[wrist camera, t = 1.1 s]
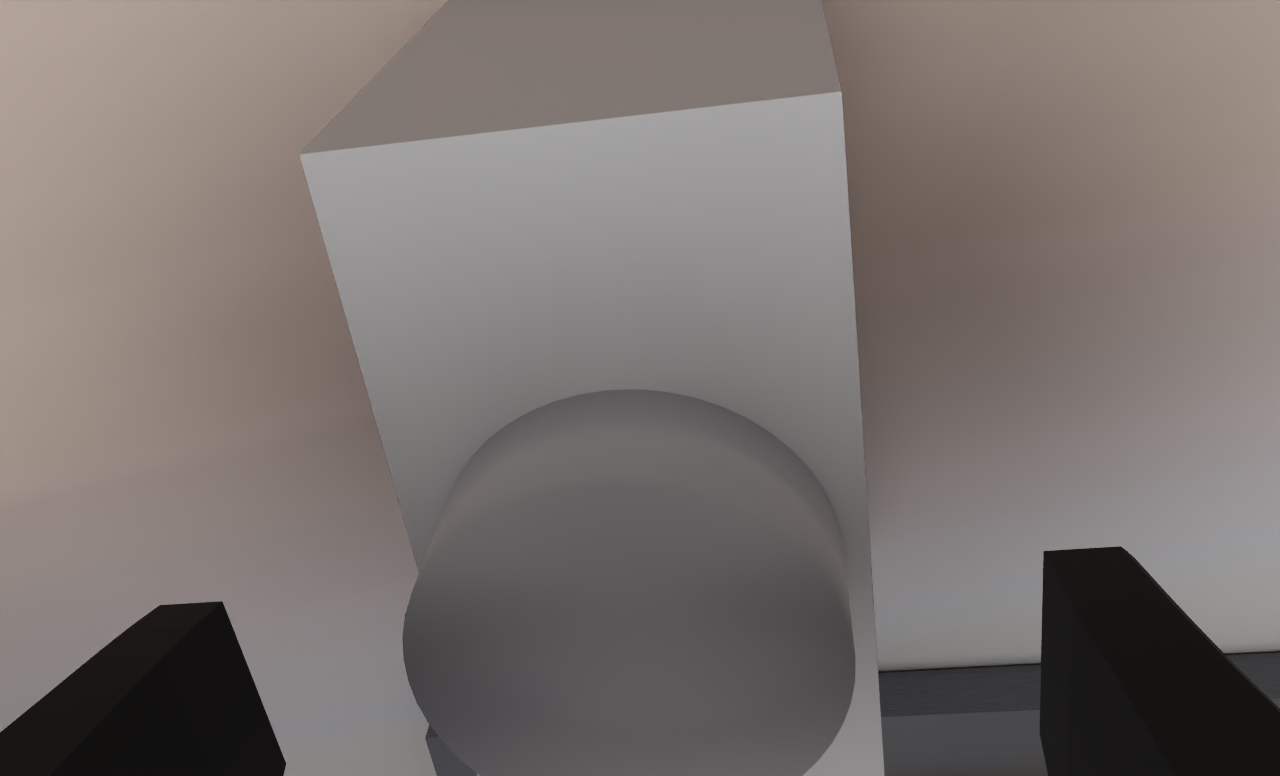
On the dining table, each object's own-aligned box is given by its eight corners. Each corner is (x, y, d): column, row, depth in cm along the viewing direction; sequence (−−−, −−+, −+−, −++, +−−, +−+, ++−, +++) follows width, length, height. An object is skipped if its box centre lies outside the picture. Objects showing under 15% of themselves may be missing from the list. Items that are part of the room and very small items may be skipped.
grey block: (571, 565, 20) (482, 993, 13) (451, -3, 15) (233, 222, 9) (852, 547, 19) (905, 987, 13) (810, -50, 15) (856, 154, 8)
